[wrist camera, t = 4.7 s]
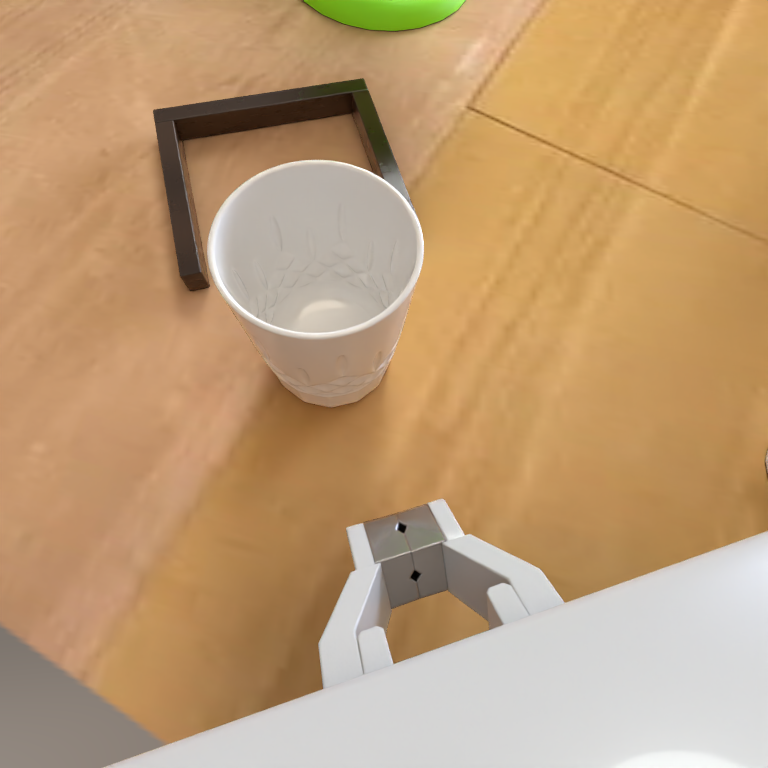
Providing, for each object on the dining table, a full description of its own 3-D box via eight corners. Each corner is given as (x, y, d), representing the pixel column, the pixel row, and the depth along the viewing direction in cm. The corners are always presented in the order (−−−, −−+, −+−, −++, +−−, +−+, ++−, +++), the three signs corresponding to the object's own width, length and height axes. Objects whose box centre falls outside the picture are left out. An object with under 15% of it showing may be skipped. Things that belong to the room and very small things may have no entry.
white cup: (364, 441, 24) (369, 375, 15) (236, 382, 25) (161, 283, 15) (420, 324, 27) (454, 204, 17) (303, 274, 27) (274, 132, 18)
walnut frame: (418, 243, 29) (421, 226, 27) (189, 291, 26) (179, 276, 25) (363, 98, 33) (363, 77, 31) (162, 130, 31) (152, 109, 29)
